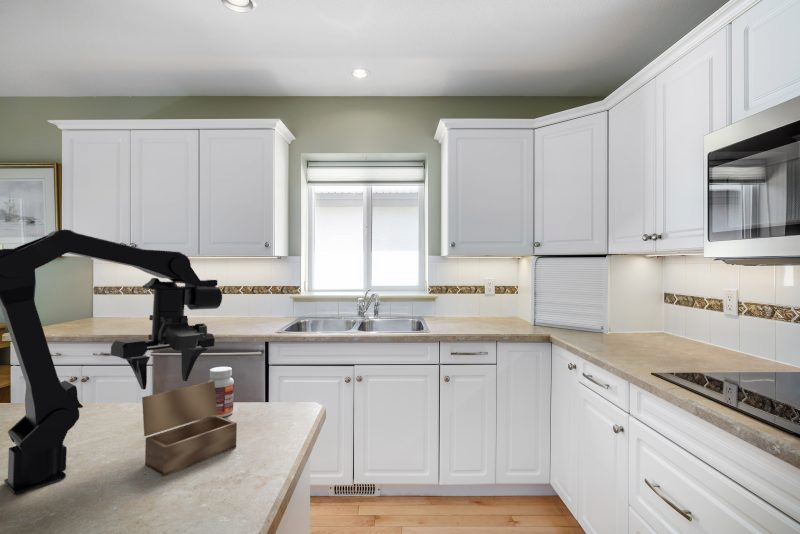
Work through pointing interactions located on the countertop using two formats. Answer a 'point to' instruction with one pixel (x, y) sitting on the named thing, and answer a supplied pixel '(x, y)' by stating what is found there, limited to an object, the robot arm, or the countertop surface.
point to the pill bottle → (223, 390)
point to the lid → (178, 407)
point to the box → (189, 444)
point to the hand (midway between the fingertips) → (165, 384)
